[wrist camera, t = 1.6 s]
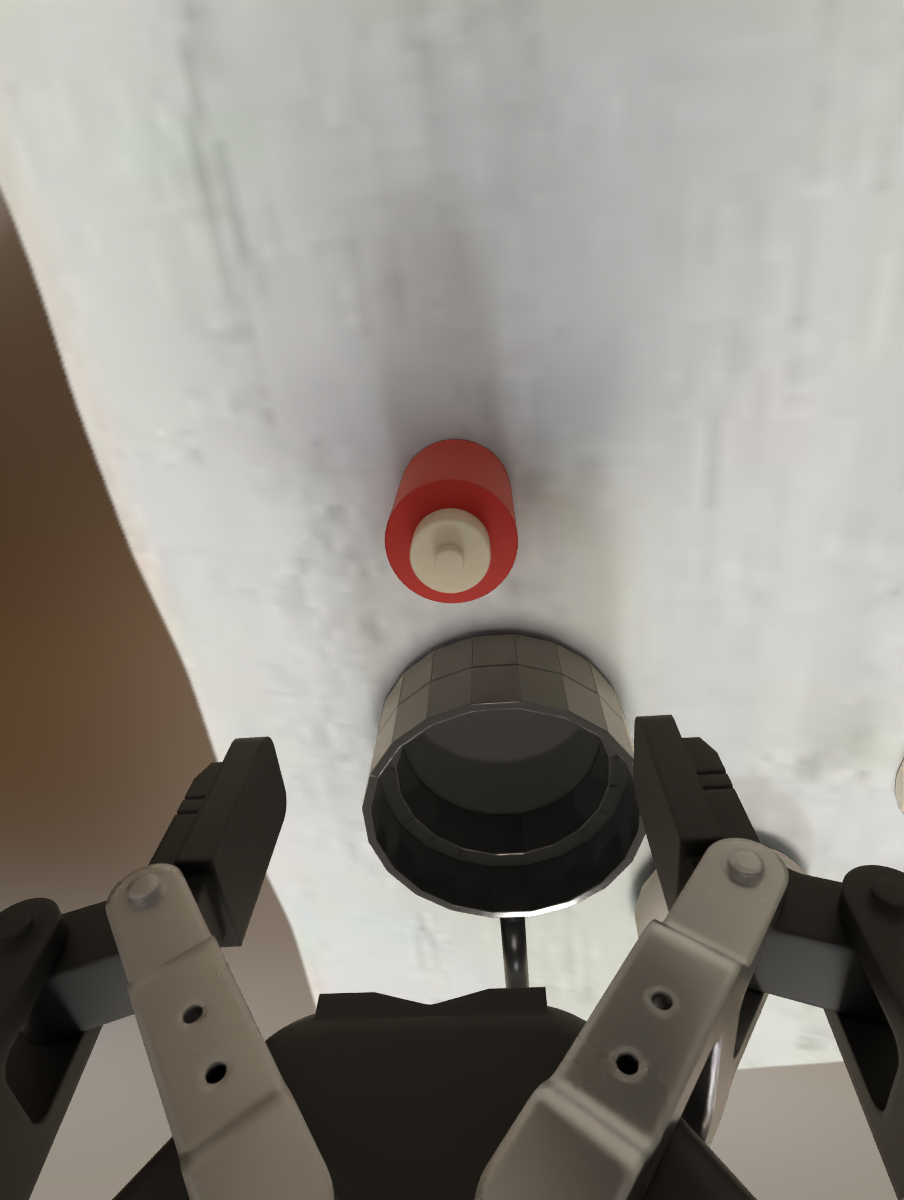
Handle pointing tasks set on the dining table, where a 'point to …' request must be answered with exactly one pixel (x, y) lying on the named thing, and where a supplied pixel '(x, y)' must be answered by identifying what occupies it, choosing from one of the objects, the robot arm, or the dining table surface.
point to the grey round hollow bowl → (503, 779)
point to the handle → (514, 952)
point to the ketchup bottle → (452, 523)
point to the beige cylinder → (900, 787)
